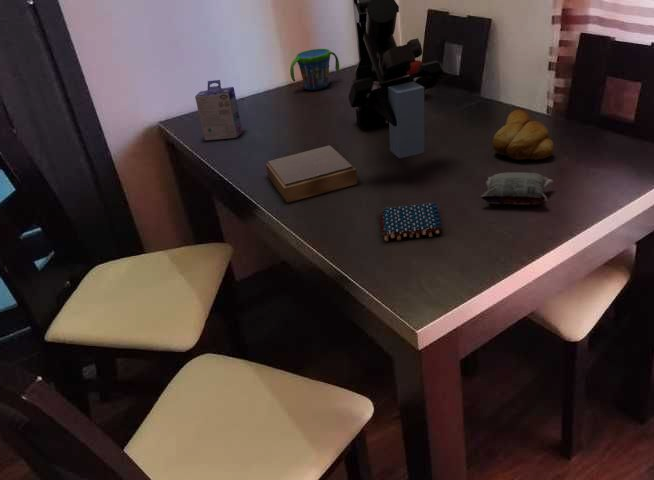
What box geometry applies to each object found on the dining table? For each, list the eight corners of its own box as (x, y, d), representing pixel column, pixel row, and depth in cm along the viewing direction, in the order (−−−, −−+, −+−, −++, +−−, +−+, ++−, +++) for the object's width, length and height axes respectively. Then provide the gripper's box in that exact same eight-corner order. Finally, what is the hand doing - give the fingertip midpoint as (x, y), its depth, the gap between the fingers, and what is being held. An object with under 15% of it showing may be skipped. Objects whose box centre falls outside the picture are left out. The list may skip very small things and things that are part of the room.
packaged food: (487, 188, 123) (488, 164, 120) (552, 190, 118) (555, 165, 115) (479, 209, 117) (480, 184, 114) (547, 212, 112) (549, 186, 109)
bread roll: (563, 155, 129) (567, 116, 124) (527, 170, 126) (530, 131, 121) (517, 141, 139) (519, 104, 134) (483, 154, 136) (484, 117, 131)
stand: (333, 160, 147) (331, 143, 144) (357, 184, 134) (355, 166, 132) (268, 177, 145) (265, 161, 142) (286, 203, 132) (283, 185, 129)
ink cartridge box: (243, 131, 174) (232, 77, 165) (238, 138, 170) (227, 83, 161) (210, 134, 176) (198, 81, 168) (204, 141, 172) (191, 87, 163)
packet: (414, 145, 132) (413, 81, 124) (424, 152, 128) (424, 87, 120) (389, 150, 131) (387, 86, 123) (399, 158, 127) (397, 92, 120)
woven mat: (380, 216, 120) (379, 206, 119) (436, 210, 119) (436, 200, 117) (382, 242, 112) (381, 232, 111) (442, 236, 110) (442, 226, 109)
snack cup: (336, 78, 201) (332, 44, 195) (345, 85, 193) (342, 50, 187) (289, 88, 200) (284, 55, 194) (297, 97, 192) (291, 62, 186)
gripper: (347, 37, 118) (374, 111, 115) (438, 15, 120) (466, 88, 118) (338, 72, 128) (362, 140, 126) (421, 51, 131) (446, 118, 129)
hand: (409, 121), depth 125 cm, fingers closed on packet, 5 cm apart
